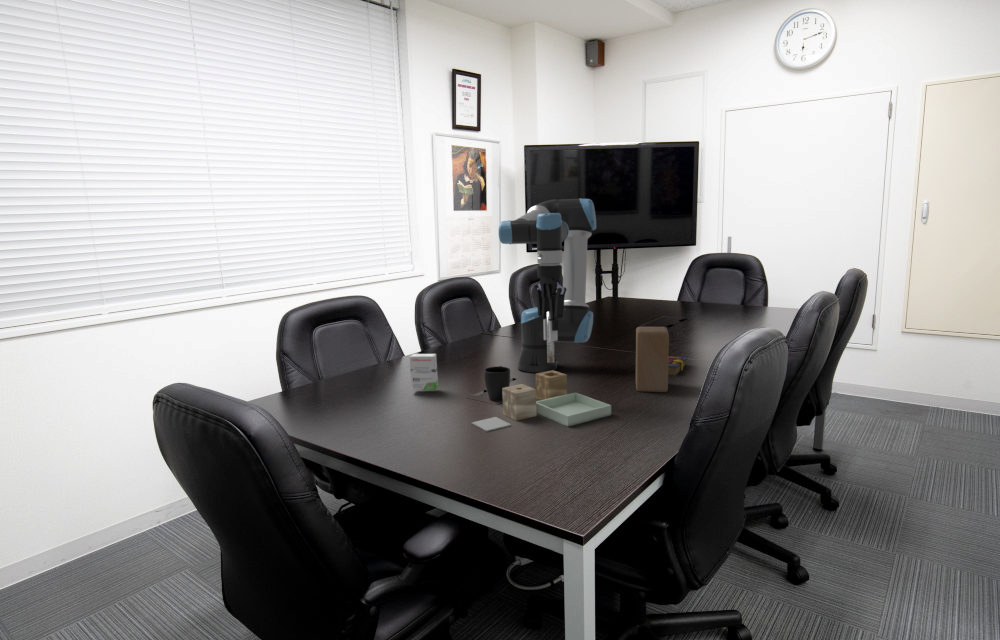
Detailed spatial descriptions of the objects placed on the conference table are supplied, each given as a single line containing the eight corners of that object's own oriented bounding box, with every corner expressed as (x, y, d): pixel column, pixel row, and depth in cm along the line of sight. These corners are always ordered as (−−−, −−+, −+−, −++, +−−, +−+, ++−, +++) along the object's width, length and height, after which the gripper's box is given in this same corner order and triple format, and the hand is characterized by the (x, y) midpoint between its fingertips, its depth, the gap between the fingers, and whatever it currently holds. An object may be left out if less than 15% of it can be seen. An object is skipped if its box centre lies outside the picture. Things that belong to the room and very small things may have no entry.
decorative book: (644, 375, 214) (645, 361, 213) (657, 365, 228) (657, 352, 227) (676, 378, 209) (677, 364, 208) (687, 368, 222) (688, 355, 222)
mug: (514, 391, 198) (514, 363, 196) (508, 402, 186) (507, 373, 184) (490, 390, 199) (489, 363, 198) (482, 401, 188) (481, 372, 186)
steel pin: (545, 361, 187) (545, 311, 184) (551, 360, 188) (550, 310, 185) (550, 363, 185) (549, 312, 182) (555, 362, 186) (555, 311, 184)
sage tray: (533, 411, 177) (533, 402, 176) (575, 401, 185) (575, 392, 184) (567, 426, 163) (567, 416, 163) (611, 415, 172) (611, 405, 171)
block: (668, 393, 191) (669, 332, 188) (636, 392, 193) (636, 331, 190) (665, 384, 201) (667, 326, 197) (635, 383, 203) (636, 326, 199)
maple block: (503, 414, 175) (502, 388, 174) (522, 409, 179) (522, 384, 177) (516, 420, 169) (515, 393, 168) (536, 415, 173) (535, 389, 172)
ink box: (438, 386, 207) (437, 353, 205) (435, 390, 202) (434, 356, 200) (414, 386, 207) (412, 353, 205) (411, 390, 202) (409, 356, 200)
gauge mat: (471, 423, 168) (471, 422, 168) (495, 418, 172) (495, 416, 172) (486, 431, 161) (486, 430, 161) (511, 425, 165) (510, 424, 165)
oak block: (536, 398, 190) (535, 373, 188) (553, 394, 193) (553, 370, 192) (549, 403, 184) (548, 378, 183) (567, 399, 188) (566, 374, 186)
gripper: (525, 264, 186) (526, 338, 190) (555, 266, 173) (556, 345, 177) (544, 262, 190) (545, 335, 194) (575, 264, 177) (575, 342, 181)
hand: (550, 340), depth 185 cm, fingers closed on steel pin, 2 cm apart
